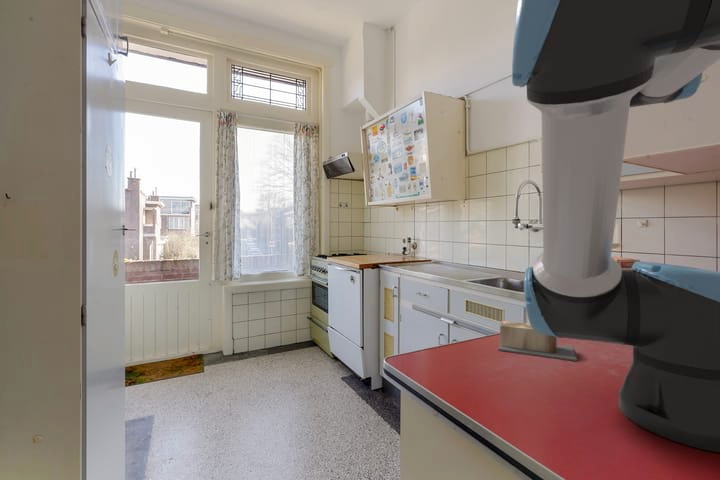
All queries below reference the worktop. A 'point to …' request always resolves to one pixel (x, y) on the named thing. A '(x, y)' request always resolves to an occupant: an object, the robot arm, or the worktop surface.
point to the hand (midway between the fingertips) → (569, 250)
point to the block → (525, 337)
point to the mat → (561, 352)
